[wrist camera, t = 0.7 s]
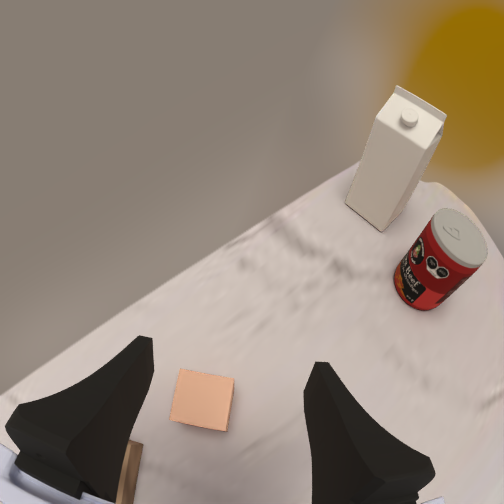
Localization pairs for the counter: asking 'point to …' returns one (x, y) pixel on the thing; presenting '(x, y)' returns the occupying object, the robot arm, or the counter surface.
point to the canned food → (440, 260)
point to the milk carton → (395, 157)
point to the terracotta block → (202, 400)
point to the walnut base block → (129, 473)
